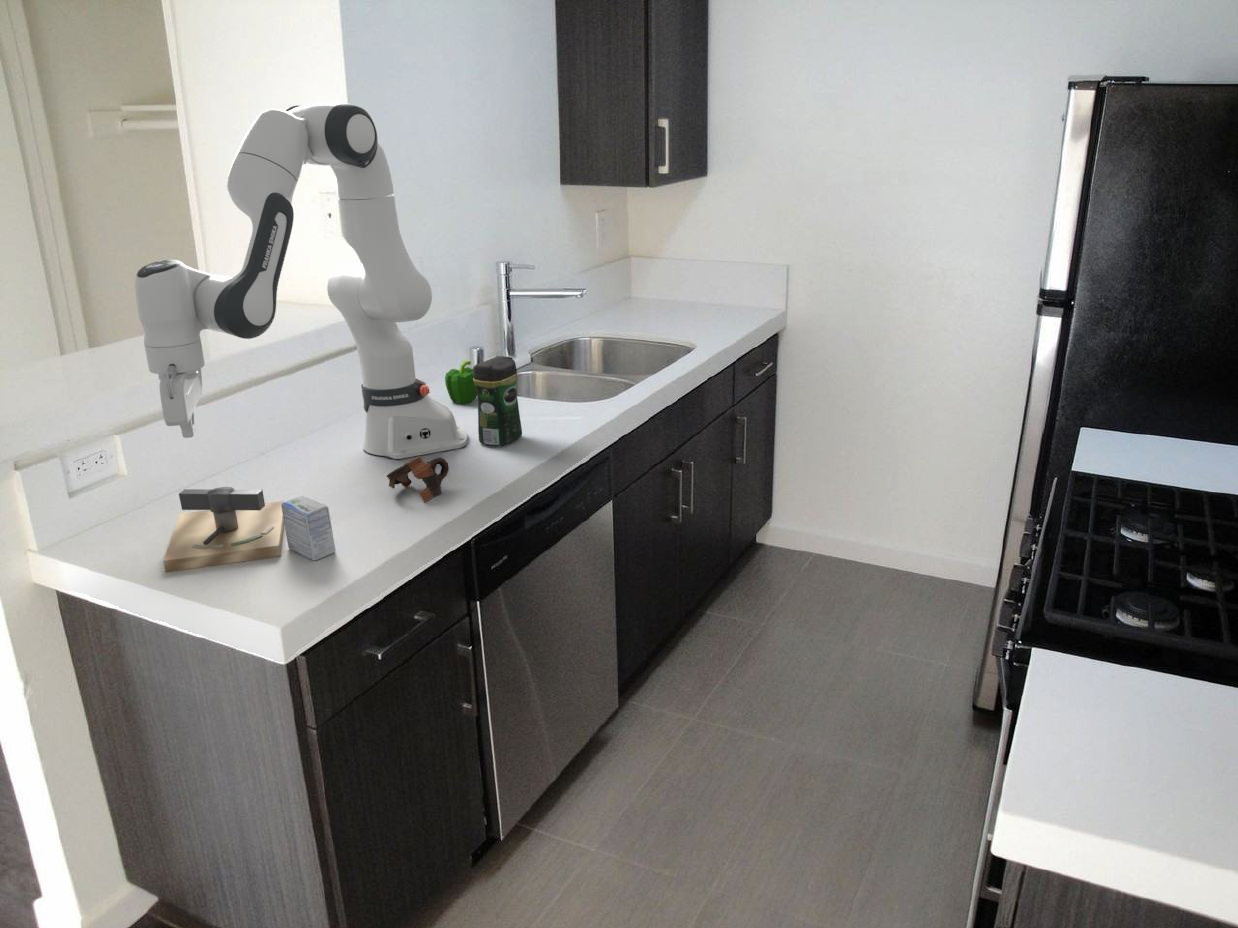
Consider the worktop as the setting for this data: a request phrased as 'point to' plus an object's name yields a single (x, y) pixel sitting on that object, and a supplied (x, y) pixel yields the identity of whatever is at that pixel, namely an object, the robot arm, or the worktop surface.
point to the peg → (222, 505)
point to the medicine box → (308, 527)
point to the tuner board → (225, 538)
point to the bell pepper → (461, 384)
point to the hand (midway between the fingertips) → (189, 435)
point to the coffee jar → (497, 401)
